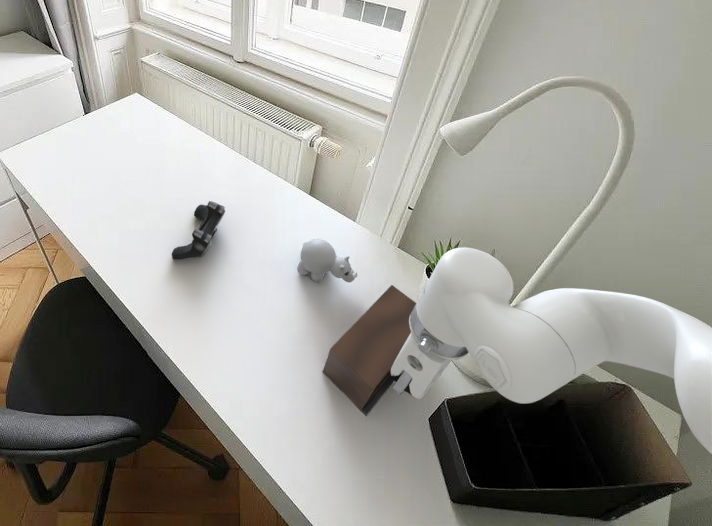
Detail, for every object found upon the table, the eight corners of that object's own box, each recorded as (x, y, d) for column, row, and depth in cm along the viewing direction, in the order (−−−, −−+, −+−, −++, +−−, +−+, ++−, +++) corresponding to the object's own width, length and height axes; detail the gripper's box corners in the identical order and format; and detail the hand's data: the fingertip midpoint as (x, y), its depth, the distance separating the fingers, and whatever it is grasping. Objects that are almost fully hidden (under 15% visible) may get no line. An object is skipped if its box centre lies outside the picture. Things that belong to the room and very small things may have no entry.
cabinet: (423, 344, 75) (439, 320, 69) (366, 416, 66) (379, 394, 61) (380, 310, 81) (391, 284, 75) (322, 371, 72) (330, 348, 66)
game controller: (193, 275, 91) (211, 257, 84) (167, 258, 90) (183, 239, 83) (218, 222, 102) (236, 202, 95) (195, 207, 102) (212, 186, 95)
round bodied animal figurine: (345, 303, 82) (353, 279, 76) (291, 273, 87) (296, 249, 82) (358, 277, 86) (367, 253, 81) (306, 250, 92) (311, 226, 86)
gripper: (442, 389, 47) (400, 441, 58) (499, 311, 54) (451, 371, 65) (384, 339, 51) (356, 397, 63) (443, 273, 59) (408, 336, 70)
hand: (404, 384), depth 64 cm, fingers closed
